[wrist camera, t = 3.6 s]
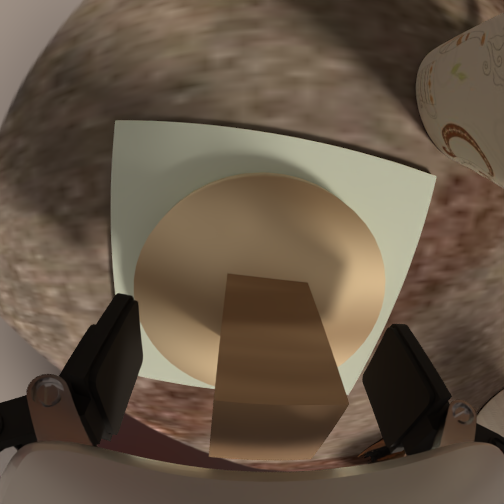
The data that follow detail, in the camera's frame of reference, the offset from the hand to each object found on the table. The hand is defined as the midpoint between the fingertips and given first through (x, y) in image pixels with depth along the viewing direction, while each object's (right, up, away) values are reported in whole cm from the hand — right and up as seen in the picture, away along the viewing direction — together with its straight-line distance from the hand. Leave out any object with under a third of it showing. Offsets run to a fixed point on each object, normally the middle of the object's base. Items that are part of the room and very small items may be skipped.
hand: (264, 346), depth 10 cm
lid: (0, +1, +3) cm, 3 cm away
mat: (0, +2, +3) cm, 4 cm away
